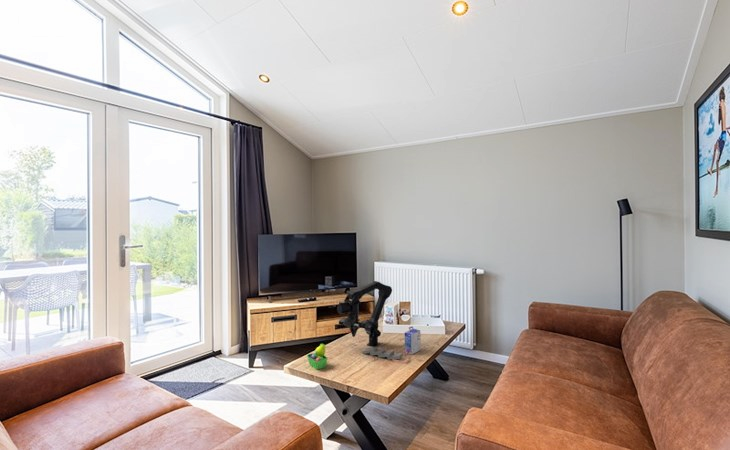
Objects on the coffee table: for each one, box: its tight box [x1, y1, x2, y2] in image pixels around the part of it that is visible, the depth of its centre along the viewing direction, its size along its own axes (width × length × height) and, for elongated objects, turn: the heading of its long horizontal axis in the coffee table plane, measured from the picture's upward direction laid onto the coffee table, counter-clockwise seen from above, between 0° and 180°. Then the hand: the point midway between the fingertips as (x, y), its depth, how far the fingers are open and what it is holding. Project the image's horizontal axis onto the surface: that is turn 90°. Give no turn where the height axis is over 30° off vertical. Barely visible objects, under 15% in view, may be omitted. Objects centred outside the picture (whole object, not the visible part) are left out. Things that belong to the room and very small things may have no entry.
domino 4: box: [386, 352, 404, 361], centre depth 193 cm, size 5×2×8 cm
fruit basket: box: [306, 343, 328, 371], centre depth 186 cm, size 11×9×11 cm
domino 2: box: [369, 348, 387, 357], centre depth 199 cm, size 5×2×8 cm
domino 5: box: [392, 356, 410, 364], centre depth 192 cm, size 5×2×8 cm
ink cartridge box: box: [404, 326, 422, 355], centre depth 205 cm, size 10×6×14 cm, turn 137°
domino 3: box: [377, 350, 395, 358], centre depth 196 cm, size 5×2×8 cm
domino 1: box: [362, 346, 379, 355], centre depth 202 cm, size 5×2×8 cm
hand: (353, 336), depth 208 cm, fingers closed
